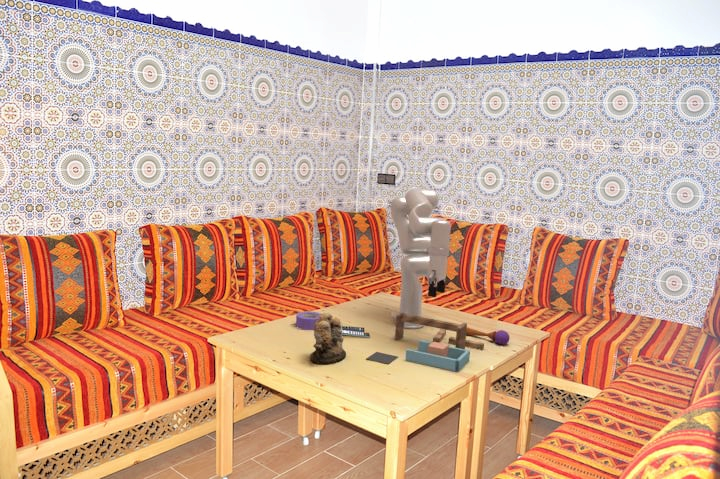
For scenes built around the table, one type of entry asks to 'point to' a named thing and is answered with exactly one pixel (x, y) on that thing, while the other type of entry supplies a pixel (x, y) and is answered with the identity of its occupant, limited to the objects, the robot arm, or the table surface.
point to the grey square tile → (382, 358)
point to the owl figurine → (328, 340)
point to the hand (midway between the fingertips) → (436, 294)
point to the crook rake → (431, 323)
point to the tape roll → (307, 320)
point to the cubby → (439, 357)
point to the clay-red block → (438, 349)
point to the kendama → (491, 335)
